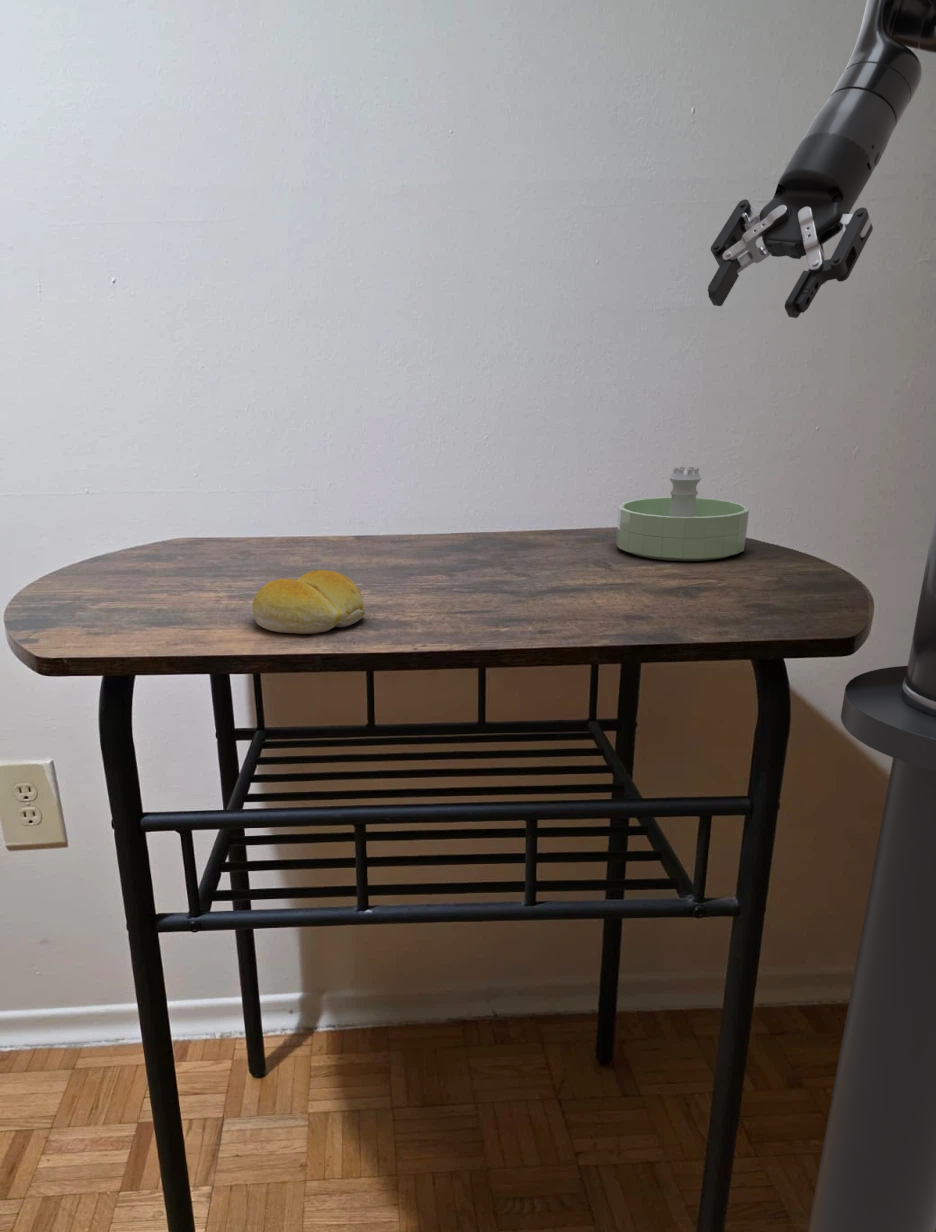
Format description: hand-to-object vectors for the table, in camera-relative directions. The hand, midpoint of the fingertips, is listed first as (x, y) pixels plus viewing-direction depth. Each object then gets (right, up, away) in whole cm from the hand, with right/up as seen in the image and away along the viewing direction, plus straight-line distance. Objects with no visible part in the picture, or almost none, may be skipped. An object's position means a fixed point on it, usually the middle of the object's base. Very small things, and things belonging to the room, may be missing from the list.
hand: (751, 307), depth 95 cm
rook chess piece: (-5, -22, +7) cm, 24 cm away
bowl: (-5, -23, +7) cm, 24 cm away
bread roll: (-42, -33, -15) cm, 55 cm away
